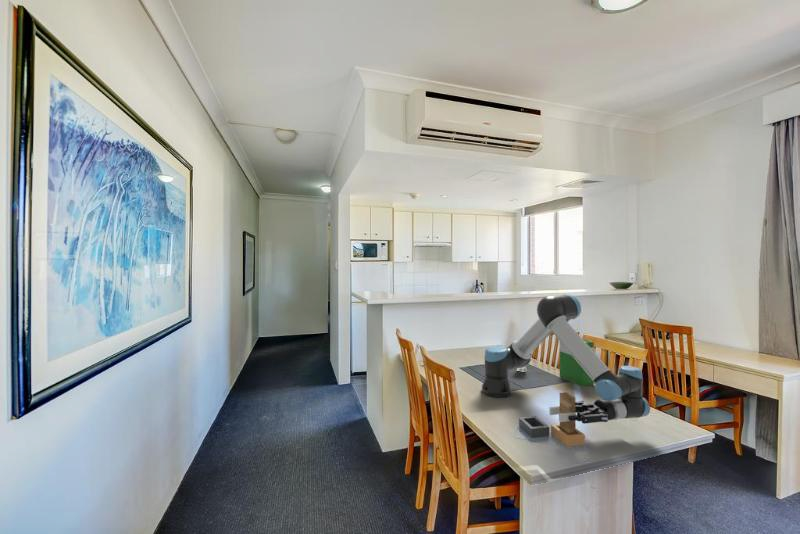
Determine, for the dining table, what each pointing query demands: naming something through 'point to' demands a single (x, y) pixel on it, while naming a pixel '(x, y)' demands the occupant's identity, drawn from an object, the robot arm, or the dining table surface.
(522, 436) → the board
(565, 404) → the oak slat
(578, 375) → the hardback book
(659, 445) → the dining table surface
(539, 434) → the grey open box
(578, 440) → the orange open box
